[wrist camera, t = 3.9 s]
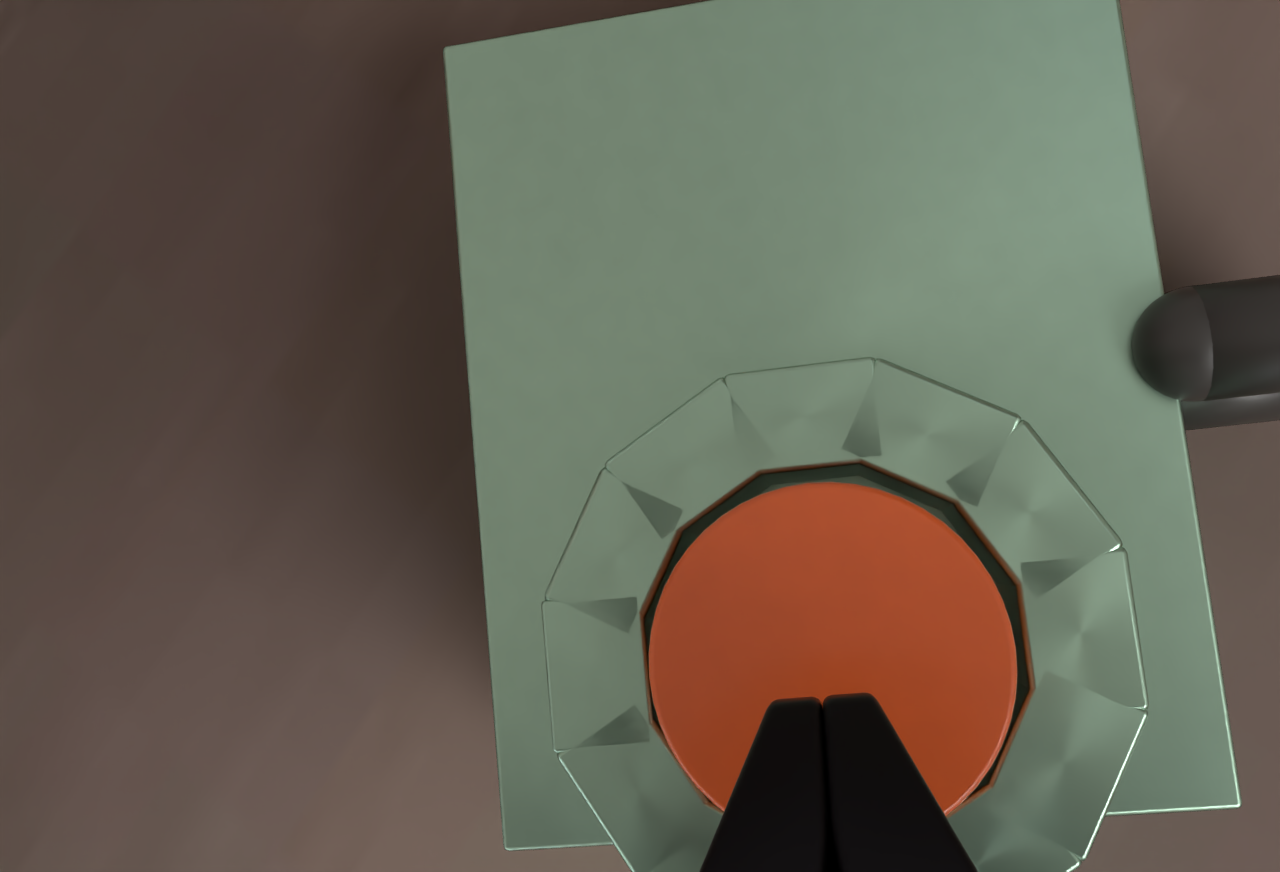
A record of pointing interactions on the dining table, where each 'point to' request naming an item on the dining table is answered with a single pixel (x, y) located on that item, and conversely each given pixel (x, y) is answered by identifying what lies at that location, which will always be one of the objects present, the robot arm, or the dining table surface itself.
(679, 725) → the push button
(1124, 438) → the green button housing
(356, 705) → the dining table surface
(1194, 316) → the handle
